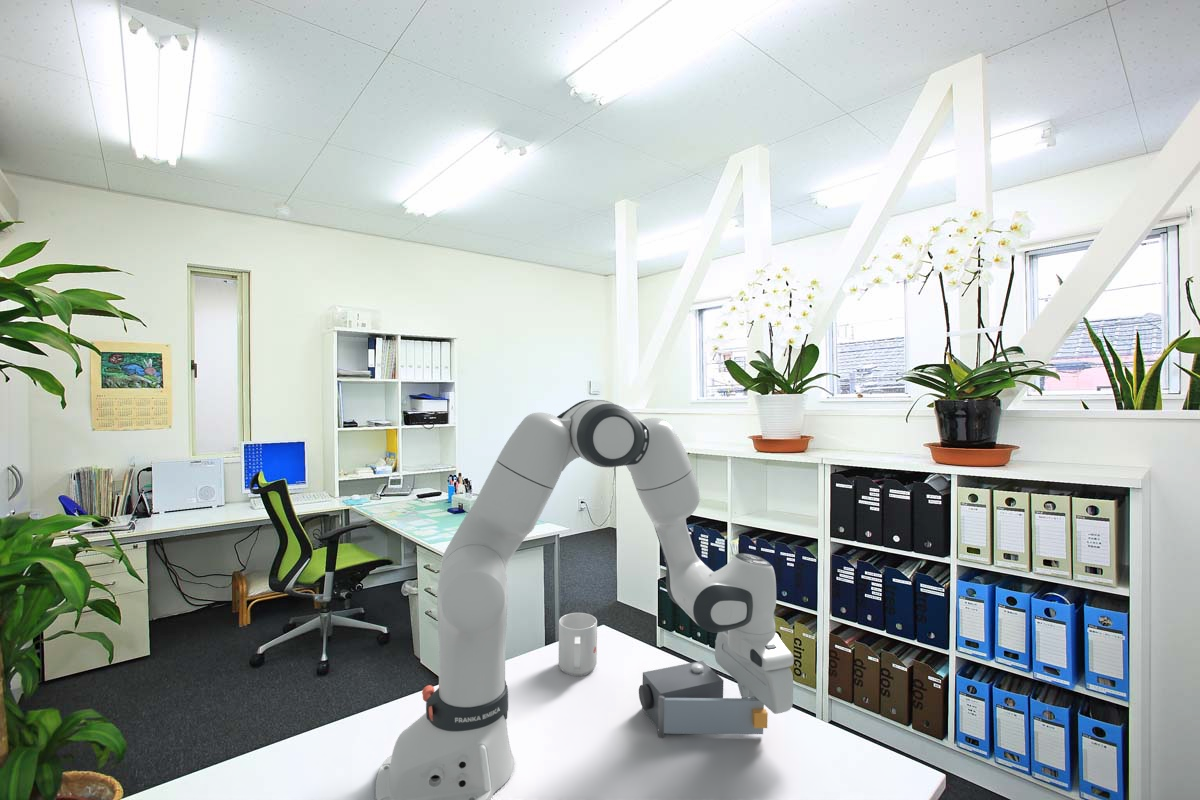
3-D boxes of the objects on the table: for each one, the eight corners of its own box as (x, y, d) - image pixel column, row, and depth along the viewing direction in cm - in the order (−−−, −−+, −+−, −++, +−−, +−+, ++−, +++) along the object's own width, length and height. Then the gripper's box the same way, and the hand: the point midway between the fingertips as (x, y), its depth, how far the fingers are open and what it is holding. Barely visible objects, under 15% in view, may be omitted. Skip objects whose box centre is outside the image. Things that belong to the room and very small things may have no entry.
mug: (559, 657, 132) (559, 612, 131) (596, 658, 132) (596, 612, 131) (556, 685, 120) (557, 635, 119) (597, 685, 120) (597, 636, 119)
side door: (658, 741, 101) (659, 702, 101) (657, 733, 104) (658, 695, 104) (766, 742, 102) (767, 703, 101) (763, 734, 104) (763, 696, 104)
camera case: (654, 733, 104) (655, 690, 104) (636, 709, 111) (637, 669, 111) (722, 716, 109) (723, 676, 109) (701, 695, 117) (702, 657, 116)
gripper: (708, 618, 114) (706, 683, 115) (771, 667, 95) (769, 744, 96) (733, 614, 117) (731, 678, 117) (800, 661, 97) (798, 736, 98)
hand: (749, 708), depth 106 cm, fingers closed
